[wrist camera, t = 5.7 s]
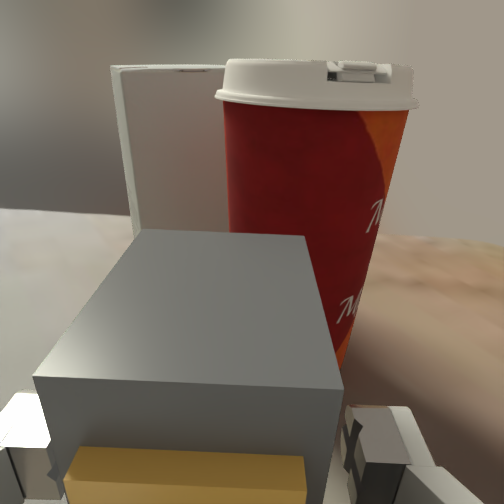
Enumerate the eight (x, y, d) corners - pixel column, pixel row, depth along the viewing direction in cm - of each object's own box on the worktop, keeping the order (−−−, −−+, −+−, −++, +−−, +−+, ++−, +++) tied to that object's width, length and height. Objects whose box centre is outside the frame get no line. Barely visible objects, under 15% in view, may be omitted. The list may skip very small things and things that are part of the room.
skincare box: (228, 250, 34) (230, 65, 28) (256, 282, 29) (266, 66, 23) (131, 265, 31) (107, 60, 24) (143, 303, 26) (118, 59, 19)
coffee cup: (393, 397, 19) (481, 66, 13) (233, 429, 17) (242, 54, 11) (322, 305, 26) (356, 66, 20) (205, 320, 24) (200, 59, 18)
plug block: (117, 736, 9) (9, 406, 4) (168, 502, 14) (142, 228, 9) (283, 744, 9) (352, 422, 4) (275, 507, 14) (304, 235, 9)
